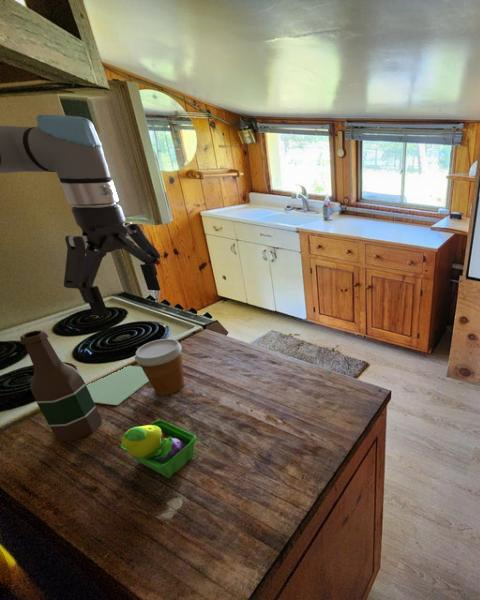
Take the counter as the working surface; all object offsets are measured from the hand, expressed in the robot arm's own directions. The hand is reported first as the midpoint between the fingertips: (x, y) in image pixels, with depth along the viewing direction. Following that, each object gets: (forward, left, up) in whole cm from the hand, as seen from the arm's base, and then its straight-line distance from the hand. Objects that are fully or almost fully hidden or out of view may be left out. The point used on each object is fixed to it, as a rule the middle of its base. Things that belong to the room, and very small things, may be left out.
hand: (130, 301), depth 73 cm
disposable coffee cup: (+3, 0, -25) cm, 25 cm away
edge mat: (-11, -1, -24) cm, 27 cm away
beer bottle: (-6, -15, -25) cm, 29 cm away
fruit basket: (+18, -20, -25) cm, 36 cm away
